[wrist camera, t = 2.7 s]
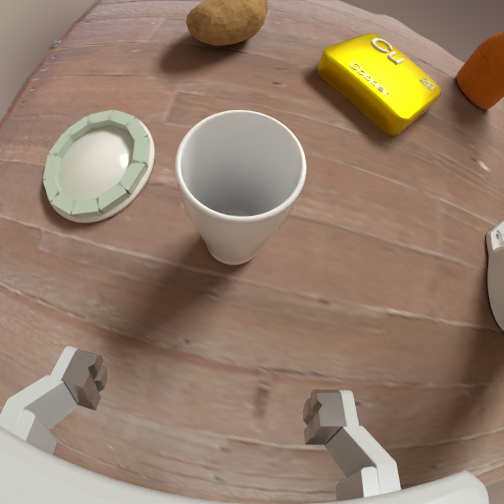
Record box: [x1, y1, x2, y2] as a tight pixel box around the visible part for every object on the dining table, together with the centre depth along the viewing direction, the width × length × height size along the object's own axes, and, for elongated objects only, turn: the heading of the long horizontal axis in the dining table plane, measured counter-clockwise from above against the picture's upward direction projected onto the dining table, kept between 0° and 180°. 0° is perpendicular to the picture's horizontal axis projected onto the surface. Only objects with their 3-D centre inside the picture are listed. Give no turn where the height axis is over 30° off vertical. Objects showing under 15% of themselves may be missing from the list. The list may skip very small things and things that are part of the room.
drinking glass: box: [175, 110, 306, 265], centre depth 21 cm, size 7×7×15 cm
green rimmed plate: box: [43, 110, 155, 223], centre depth 28 cm, size 14×14×2 cm
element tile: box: [317, 33, 441, 136], centre depth 34 cm, size 15×15×5 cm
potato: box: [186, 0, 268, 46], centre depth 32 cm, size 10×14×8 cm
